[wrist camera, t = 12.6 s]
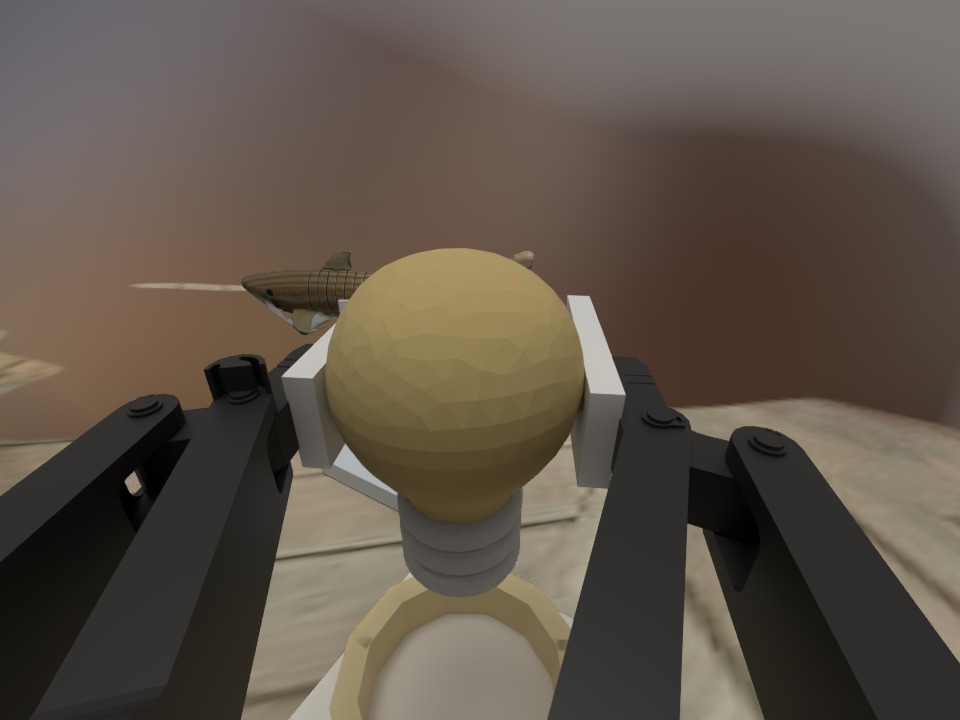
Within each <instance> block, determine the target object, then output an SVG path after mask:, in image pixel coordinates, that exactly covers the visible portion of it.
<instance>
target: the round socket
mask: <svg viewBox="0 0 960 720" xmlns="http://www.w3.org/2000/svg"><path fill="white" fill-rule="evenodd" d="M572 624H573V619H571V618H570V617H568V616H566V615H564V614H562V613H560V612H558V611H557V609H556V608H555V607H554V605H553V604H552V602H551V601H550V600H549V598H548V597H547V596H546V594H545V593H544V592H543V590H542V589H540V588H538V587H536V586H534V585H532V584H530V583H528V582H526V581H524V580H522V579H520V578H518V577H516V576H515V575H513V574H511V573H509V575H508V576H507V577H506V578H505V579H504V581H502V582H501V583H500V584H499V585H498V586H496V587H494V588H493V589H491V590H490V591H487V592H484V593H482V594H479V595H475V596H469V597H449V596H444V595H440V594H438V593H436V592H433V591H431V590H429V589H427V588H425V587H424V586H423V585H422V584H421V583H420V582H418V581H417V580H416V579H415V578H414V576H413V575H412V574H411V572H410V573H409V574H408V575H407V577H406V578H405V579H404V580H403V582H401V583H399V584H396V585H394V586H392V587H390V588H389V589H388V590H387V591H386V593H385V594H384V595H383V596H382V597H381V599H380V600H379V601H378V602H377V603H376V605H375V606H374V607H373V608H372V609H371V610H370V612H369V613H368V614H367V615H366V616H365V618H364V619H363V620H362V621H361V622H360V624H359V625H358V626H357V627H356V628H355V629H354V631H353V632H352V633H351V634H350V635H349V637H348V641H347V644H346V648H345V652H344V653H343V654H342V655H341V657H340V658H339V659H338V660H337V662H336V663H335V664H334V665H333V666H332V668H331V669H330V670H329V671H328V672H327V674H326V675H325V676H324V677H323V679H322V680H321V681H320V682H319V683H318V685H317V686H316V687H315V688H314V689H313V691H312V692H311V693H310V694H309V695H308V697H307V698H306V699H305V700H304V702H303V703H302V704H301V705H300V706H299V708H298V709H297V710H296V711H295V712H294V714H293V715H292V716H291V717H290V719H289V720H547V718H548V714H549V711H550V707H551V703H552V699H553V696H554V692H555V688H556V684H557V680H558V677H559V673H560V669H561V665H562V662H563V658H564V654H565V650H566V646H567V643H568V639H569V635H570V631H571V628H572Z"/></svg>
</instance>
